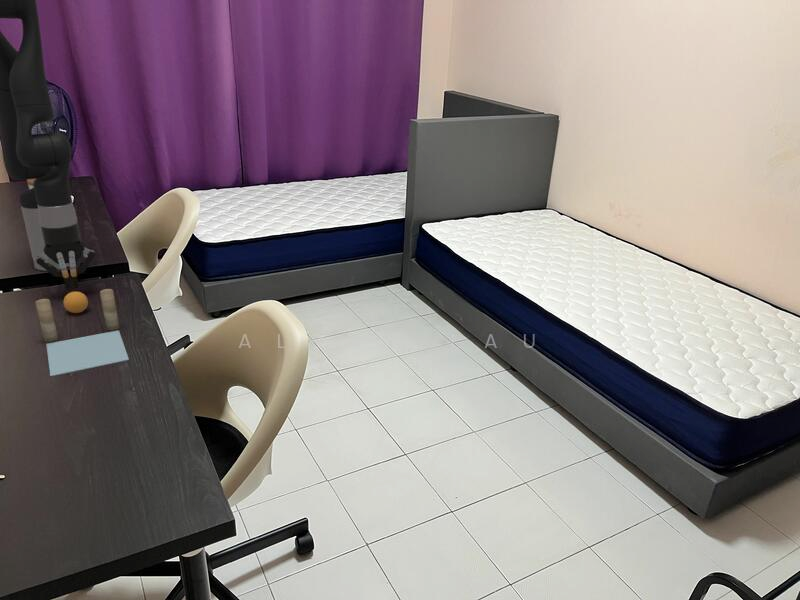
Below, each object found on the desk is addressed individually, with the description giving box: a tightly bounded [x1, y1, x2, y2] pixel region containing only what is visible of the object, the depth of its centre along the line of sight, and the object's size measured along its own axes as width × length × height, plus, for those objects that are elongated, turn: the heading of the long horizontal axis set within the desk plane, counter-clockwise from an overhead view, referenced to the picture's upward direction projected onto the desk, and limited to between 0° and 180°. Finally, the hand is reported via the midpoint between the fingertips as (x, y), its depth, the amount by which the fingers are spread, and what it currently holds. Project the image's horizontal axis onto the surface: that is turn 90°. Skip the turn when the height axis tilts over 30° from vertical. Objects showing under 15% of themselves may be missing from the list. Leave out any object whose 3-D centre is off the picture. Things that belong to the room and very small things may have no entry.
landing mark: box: [46, 329, 130, 377], centre depth 123 cm, size 14×14×1 cm
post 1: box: [35, 298, 59, 344], centre depth 125 cm, size 3×3×9 cm
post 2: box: [99, 288, 120, 332], centre depth 131 cm, size 3×3×9 cm
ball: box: [62, 291, 89, 314], centre depth 138 cm, size 5×5×5 cm
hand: (72, 290), depth 146 cm, fingers closed
